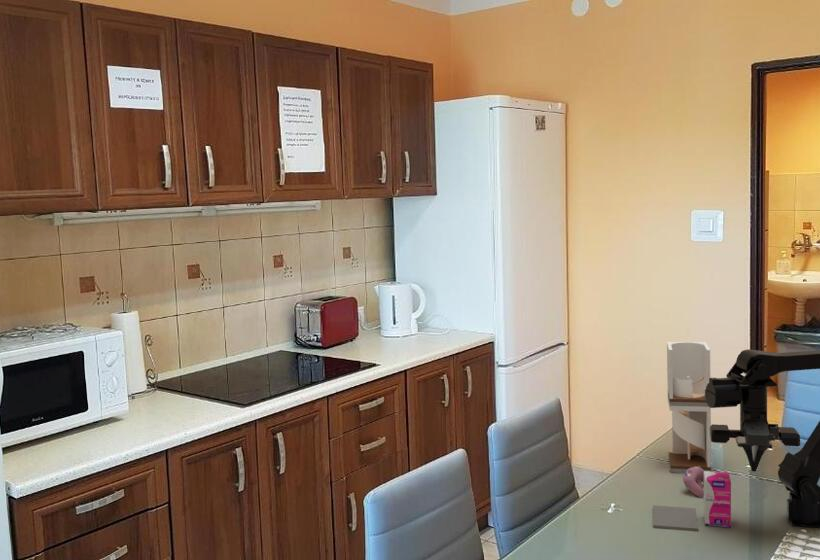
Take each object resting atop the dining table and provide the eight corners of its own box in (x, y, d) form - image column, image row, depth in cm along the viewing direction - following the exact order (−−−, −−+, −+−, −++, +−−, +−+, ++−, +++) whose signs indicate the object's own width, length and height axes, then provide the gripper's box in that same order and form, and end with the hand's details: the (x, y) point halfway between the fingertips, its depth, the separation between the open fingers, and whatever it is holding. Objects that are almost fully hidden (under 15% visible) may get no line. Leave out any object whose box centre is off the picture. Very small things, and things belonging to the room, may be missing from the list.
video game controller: (702, 489, 207) (690, 464, 208) (717, 485, 204) (705, 460, 205) (689, 501, 199) (676, 476, 200) (705, 497, 196) (692, 471, 198)
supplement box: (704, 526, 181) (704, 479, 179) (703, 516, 186) (703, 470, 185) (731, 528, 179) (731, 480, 178) (729, 518, 184) (729, 471, 183)
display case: (668, 458, 227) (666, 341, 223) (707, 460, 224) (706, 342, 220) (670, 472, 216) (669, 349, 212) (711, 474, 213) (710, 350, 209)
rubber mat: (695, 510, 189) (695, 508, 189) (698, 531, 178) (698, 528, 178) (653, 507, 192) (652, 505, 192) (653, 527, 181) (653, 525, 181)
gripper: (712, 413, 172) (713, 480, 174) (805, 416, 167) (804, 486, 168) (709, 400, 183) (709, 464, 184) (795, 403, 177) (795, 468, 179)
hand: (753, 470), depth 179 cm, fingers closed
